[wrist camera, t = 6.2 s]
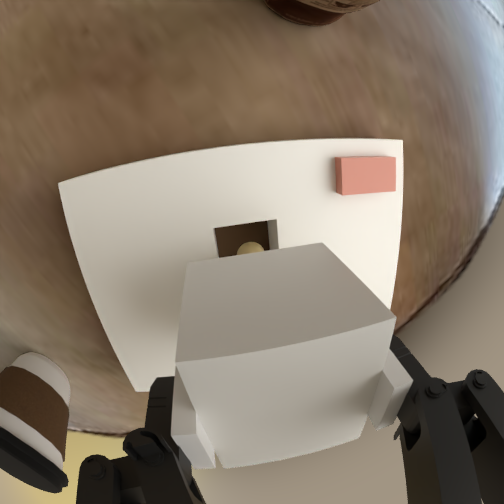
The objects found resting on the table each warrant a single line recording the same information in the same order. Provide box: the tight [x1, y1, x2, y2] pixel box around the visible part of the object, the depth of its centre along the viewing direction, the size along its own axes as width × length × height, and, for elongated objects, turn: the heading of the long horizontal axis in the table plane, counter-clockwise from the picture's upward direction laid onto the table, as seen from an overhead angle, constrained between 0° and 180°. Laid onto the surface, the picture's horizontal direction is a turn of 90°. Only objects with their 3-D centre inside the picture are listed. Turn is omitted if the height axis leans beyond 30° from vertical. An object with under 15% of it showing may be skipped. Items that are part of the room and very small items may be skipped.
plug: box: [175, 242, 396, 469], centre depth 12 cm, size 7×6×9 cm
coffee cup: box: [0, 352, 70, 493], centre depth 15 cm, size 11×11×12 cm
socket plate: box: [58, 138, 403, 392], centre depth 17 cm, size 16×20×4 cm
